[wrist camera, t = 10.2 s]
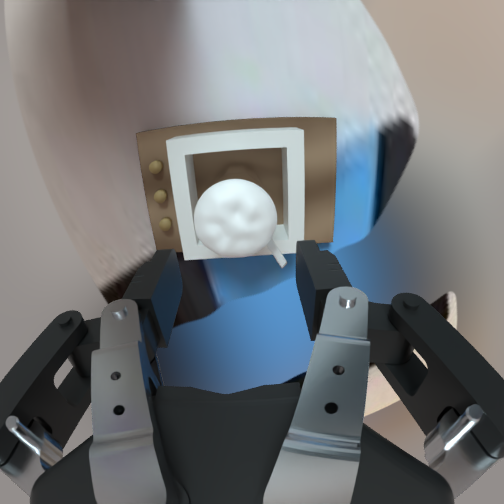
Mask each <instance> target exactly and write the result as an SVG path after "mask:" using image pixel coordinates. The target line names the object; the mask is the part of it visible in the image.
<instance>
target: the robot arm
mask: <svg viewBox="0 0 504 504" xmlns="http://www.w3.org/2000/svg"><path fill="white" fill-rule="evenodd" d="M131 282H132V283H130V285H129V287H128V288H127V290H126V292H125V294H124V296H123V298H122V299H120V300H116V301H114V302H112V303H110V304H109V305H107V306H106V307H105V308H104V309H103V311H102V314H101V317H100V318H95V319H91V320H86V321H84V319H83V318H82V315H81V313H80V312H78V311H66V312H64V313H62V314H60V315H58V316H57V317H56V318H55V319H54V320H53V321H52V322H51V323H50V324H49V325H48V327H47V328H46V329H45V330H44V331H43V332H42V333H41V334H40V335H39V337H38V338H37V339H36V340H35V341H34V342H33V343H32V345H31V346H30V347H29V348H28V349H27V351H26V352H25V353H24V354H23V355H22V356H21V358H20V359H19V360H18V361H17V362H16V364H15V365H14V366H13V367H12V368H11V370H10V371H9V372H8V374H7V375H6V376H5V377H4V379H3V380H2V381H1V383H0V471H1V472H3V473H4V474H5V475H7V476H8V477H9V478H10V479H11V480H12V481H13V482H14V483H15V484H17V486H18V487H19V488H21V489H22V490H23V491H24V492H25V493H26V494H27V495H29V496H30V504H454V499H455V498H456V497H458V496H459V495H460V494H462V493H463V492H464V491H465V490H466V489H467V488H468V487H470V486H471V485H472V484H473V483H474V482H475V481H476V480H477V479H479V478H480V477H481V476H482V475H483V474H484V473H485V472H486V471H487V470H488V469H490V468H491V467H492V466H494V465H495V464H497V463H498V462H499V461H501V460H502V459H503V458H504V380H503V378H502V377H501V376H500V375H499V374H498V373H497V371H496V370H494V368H493V367H492V366H491V365H490V364H489V363H488V362H487V361H486V360H485V359H484V357H483V356H482V355H481V354H480V353H479V352H478V351H477V350H476V349H475V348H474V347H473V346H472V345H471V344H470V343H469V342H468V341H467V340H466V339H465V338H464V337H463V336H462V335H461V334H460V333H459V332H458V331H457V330H456V329H455V328H454V327H453V326H452V325H451V324H450V323H449V322H448V321H447V320H446V319H445V318H444V317H442V316H441V315H440V314H439V313H438V312H437V311H436V310H435V309H434V308H433V307H432V306H431V305H430V304H428V303H427V302H426V301H425V300H424V299H423V298H422V297H420V296H418V295H415V294H412V293H400V294H397V295H396V296H394V297H393V299H392V302H391V305H390V304H380V303H373V302H369V301H368V298H367V296H366V295H365V294H364V293H363V292H362V291H360V290H359V289H356V288H353V287H352V286H351V284H350V282H349V280H348V278H347V276H346V274H345V273H344V271H343V270H342V267H341V265H340V264H339V262H338V260H337V258H336V256H335V255H333V254H332V253H330V252H329V251H328V250H324V251H320V250H319V248H318V246H317V244H316V242H315V240H301V241H297V243H296V284H297V289H298V293H299V296H300V300H301V304H302V307H303V312H304V315H305V319H306V323H307V327H308V331H309V334H310V339H311V341H315V343H314V347H313V351H312V355H311V359H310V363H309V366H308V370H307V373H306V377H305V380H304V384H303V387H302V391H301V390H300V385H299V382H296V383H286V384H274V385H263V386H259V387H256V388H252V389H248V390H244V391H240V392H236V393H232V394H219V393H215V392H210V391H206V390H201V389H197V388H193V387H172V386H164V383H163V379H162V375H161V370H160V366H159V361H158V358H157V355H156V351H157V348H158V347H165V348H167V347H168V343H169V339H170V335H171V332H172V328H173V324H174V321H175V317H176V313H177V310H178V306H179V303H180V299H181V295H182V278H181V274H180V269H179V264H178V260H177V255H176V251H175V249H163V250H157V251H156V253H155V254H154V256H153V258H152V260H151V261H150V262H146V263H144V264H143V265H142V266H141V267H140V268H139V269H138V270H137V272H136V274H135V277H133V279H132V281H131ZM414 349H415V350H416V351H417V352H418V353H419V354H420V355H421V357H422V358H423V359H424V360H425V362H426V364H427V367H428V369H427V368H426V367H425V365H424V364H423V363H422V362H421V361H420V359H419V358H418V357H417V356H416V355H415V354H414V352H413V350H414ZM67 358H68V359H69V361H70V362H71V364H72V366H73V368H72V369H71V371H70V372H69V374H68V375H67V376H66V378H65V379H64V380H63V382H62V383H61V385H60V386H59V387H58V389H57V388H56V387H55V385H54V375H55V374H56V372H57V371H58V370H59V368H60V367H61V366H62V364H63V363H64V362H65V360H66V359H67ZM369 362H374V363H375V364H376V366H377V367H378V369H379V370H380V371H381V373H382V374H383V376H384V377H385V378H386V380H387V381H388V382H389V384H390V385H391V387H392V388H393V389H394V391H395V392H396V394H397V395H398V396H399V398H400V399H401V401H402V402H403V404H404V405H405V406H406V408H407V409H408V411H409V412H410V413H411V415H412V416H413V418H414V419H415V420H416V422H417V423H418V425H419V426H420V428H421V429H422V431H423V432H424V434H425V435H426V438H425V442H424V450H425V459H426V460H427V461H428V462H429V466H427V465H425V464H424V463H422V462H421V461H419V460H417V459H416V458H414V457H413V456H411V455H410V454H408V453H407V452H405V451H403V450H402V449H400V448H399V447H397V446H396V445H394V444H393V443H392V442H390V441H389V440H387V439H386V438H384V437H382V436H381V435H380V434H378V433H377V432H375V431H374V430H373V429H371V428H370V427H368V426H367V425H366V424H364V423H363V418H364V410H365V402H366V393H367V383H368V371H369ZM90 403H92V425H93V435H92V436H90V438H88V439H87V440H85V441H84V442H83V443H82V444H80V445H79V446H78V447H77V448H75V449H74V450H73V451H71V452H70V453H69V454H68V455H66V456H65V457H63V448H64V447H65V445H66V443H67V441H68V440H69V438H70V436H71V434H72V433H73V431H74V430H75V428H76V426H77V425H78V422H79V421H80V419H81V418H82V416H83V415H84V413H85V411H86V410H87V408H88V406H89V405H90Z"/></svg>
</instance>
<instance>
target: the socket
mask: <svg viewBox="0 0 504 504" xmlns="http://www.w3.org/2000/svg"><path fill="white" fill-rule="evenodd" d="M166 146H167V154H168V161H169V169H170V176H171V183H172V190H173V196H174V203H175V209H176V215H177V221H178V227H179V233H180V238H181V244H182V249H183V254H184V260H195V259H211V258H226V257H222V256H219V255H218V254H216V253H214V252H213V251H211V250H210V249H208V248H207V247H206V246H205V245H203V243H202V242H201V241H200V240H199V238H198V236H197V234H196V231H195V226H194V212H195V208H196V205H197V202H198V196H197V188H196V180H195V172H194V163H193V154H198V153H207V152H218V151H229V150H243V149H259V148H282V175H283V218H284V224H282V225H277V226H276V230H275V232H274V234H273V236H272V240H273V241H274V243H275V244H276V246H277V247H278V249H279V250H280V252H281V253H282V254H288V253H296V243H297V241H301V240H304V207H305V171H304V130H302V129H299V128H296V127H288V128H259V129H242V130H229V131H218V132H208V133H199V134H191V135H183V136H176V137H173V138H171V139H169V140H166ZM258 255H273V254H272V253H271V251H270V249H269V248H268V246H267V245H266V246H265V247H264V248H262V249H261V250H260V251H258V252H257V253H255V254H253V255H251V256H258Z"/></svg>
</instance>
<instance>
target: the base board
mask: <svg viewBox="0 0 504 504" xmlns="http://www.w3.org/2000/svg"><path fill="white" fill-rule="evenodd" d="M288 127H296V128H299V129H302V130H304V171H305V207H304V240H315V242H316V243H328V242H333V231H334V214H335V192H336V118H326V117H275V118H252V119H237V120H225V121H214V122H205V123H196V124H188V125H181V126H174V127H167V128H161V129H155V130H149V131H144V132H139V133H136V137H137V145H138V152H139V159H140V165H141V172H142V178H143V184H144V190H145V195H146V201H147V206H148V211H149V216H150V221H151V226H152V231H153V236H154V240H155V245H156V249H157V250H163V249H175V251H176V252H183V249H182V244H181V238H180V233H179V227H178V221H177V215H176V209H175V203H174V196H173V190H172V183H171V176H170V169H169V161H168V154H167V146H166V140H169V139H171V138H173V137H176V136H183V135H191V134H199V133H208V132H218V131H229V130H242V129H259V128H288ZM193 163H194V172H195V180H196V188H197V196H198V200H199V199H200V197H201V196H202V194H203V193H204V192H205V191H206V190H207V189H208V188H209V187H210V186H211V184H212V183H213V182H214V180H215V179H216V178H217V177H218V175H219V174H220V173H221V172H222V171H223V170H225V169H226V168H227V167H229V166H230V165H240V164H244V165H245V166H247V167H248V168H250V169H252V170H253V171H255V173H256V175H257V177H258V179H259V180H260V182H261V184H262V186H263V187H264V189H265V190H266V192H267V193H268V195H269V196H270V197H271V199H272V201H273V203H274V205H275V208H276V212H277V225H282V224H284V218H283V175H282V148H259V149H243V150H229V151H218V152H207V153H198V154H193Z"/></svg>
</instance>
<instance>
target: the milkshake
mask: <svg viewBox="0 0 504 504" xmlns="http://www.w3.org/2000/svg"><path fill="white" fill-rule="evenodd" d="M194 226H195V231H196V234H197V236H198V238H199V240H200V241H201V242H202V243H203V245H205V246H206V247H207V248H208V249H210V250H211V251H213V252H214V253H216V254H218V255H219V256H222V257H226V258H238V257H248V256H251V255H253V254H255V253H257V252H258V251H260V250H261V249H262V248H264V247H265V246H266V245H267V246H268V248H269V249H270V251H271V253H272V254H273V256H274V257H275V259H276V260H277V262H278V264H279V265H280V267H281V268H283V267H284V266H285V265H286V264H287V261H286V259H285V258H284V256H283V255H282V253H281V252H280V250H279V249H278V247H277V246H276V244H275V243H274V241H273V240H272V236H273V234H274V232H275V230H276V226H277V212H276V208H275V205H274V203H273V201H272V199H271V197H270V196H269V195H268V193H267V192H266V190H265V189H264V187H263V186H262V184H261V182H260V180H259V179H258V177H257V175H256V173H255V171H253V170H252V169H250V168H248V167H247V166H245V165H244V164H240V165H230V166H229V167H227V168H226V169H225V170H223V171H222V172H221V173H220V174H219V175H218V177H217V178H216V179H215V180H214V182H213V183H212V184H211V186H210V187H209V188H208V189H207V190H206V191H205V192H204V193H203V194H202V196H201V197H200V199H199V200H198V202H197V205H196V208H195V212H194Z"/></svg>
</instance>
